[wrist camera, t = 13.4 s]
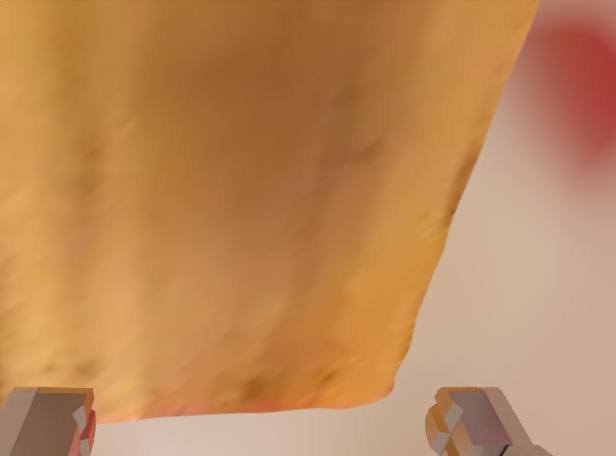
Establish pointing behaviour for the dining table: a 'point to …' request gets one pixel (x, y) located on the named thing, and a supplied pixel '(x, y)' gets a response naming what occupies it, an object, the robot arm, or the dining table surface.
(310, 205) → the dining table surface
